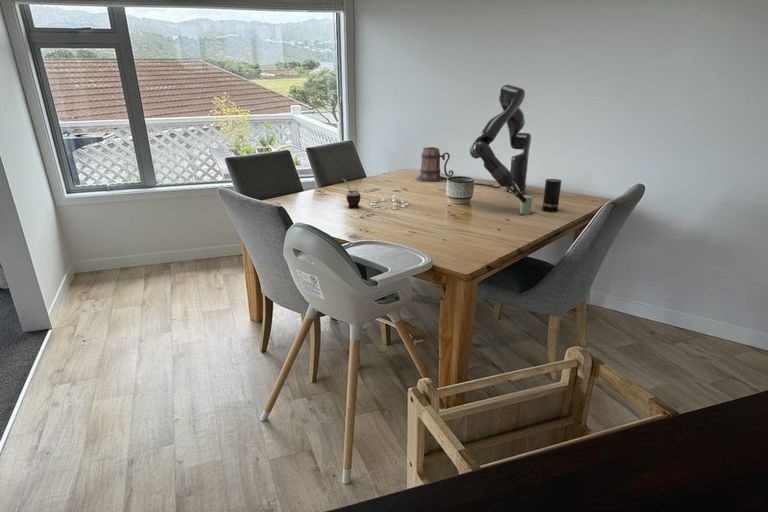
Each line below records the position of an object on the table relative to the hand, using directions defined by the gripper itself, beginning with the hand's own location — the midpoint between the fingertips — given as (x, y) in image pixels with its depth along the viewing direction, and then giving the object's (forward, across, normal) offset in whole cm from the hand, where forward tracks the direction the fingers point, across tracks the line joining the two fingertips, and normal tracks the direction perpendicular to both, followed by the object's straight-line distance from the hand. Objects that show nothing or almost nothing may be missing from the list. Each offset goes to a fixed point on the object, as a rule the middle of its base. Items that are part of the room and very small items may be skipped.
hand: (524, 199), depth 230 cm
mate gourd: (-55, -5, +64) cm, 84 cm away
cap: (+5, 0, +4) cm, 7 cm away
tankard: (-29, +74, +38) cm, 89 cm away
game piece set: (-43, +4, +52) cm, 67 cm away
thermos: (+14, +7, -5) cm, 17 cm away
